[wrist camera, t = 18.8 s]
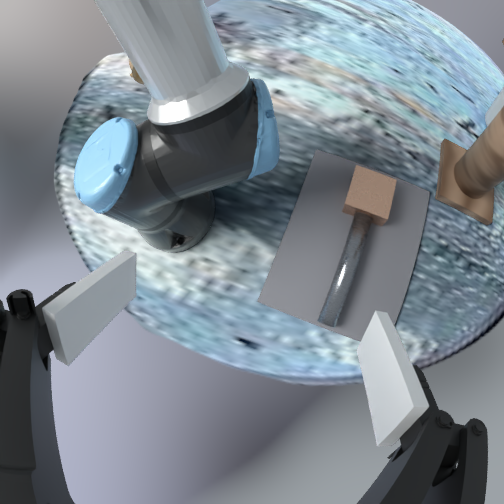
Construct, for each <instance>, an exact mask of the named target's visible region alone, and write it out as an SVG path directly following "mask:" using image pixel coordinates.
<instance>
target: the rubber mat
mask: <svg viewBox="0 0 504 504" xmlns="http://www.w3.org/2000/svg"><path fill="white" fill-rule="evenodd" d="M356 165H358V166H361V167H364V168H367V169H369V170H372V171H375V172H378V173H380V174H383V175H386V176H388V177H391V178H393V179H396V180H397V182H396V186H395V191H394V196H393V200H392V204H391V209H390V213H389V217H388V220H387V221H386V222H385V223H384V224H383V225H382V227H381V226H379V225H376V224H373V223H371V226H370V230H369V233H368V237H367V240H366V243H365V247H364V250H363V253H362V256H361V259H360V262H359V265H358V268H357V271H356V274H355V277H354V280H353V283H352V286H351V289H350V291H349V294H348V297H347V300H346V302H345V305H344V308H343V310H342V313H341V315H340V318H339V320H338V323H337V325H336V328H333V327H330V326H327V325H325V324H322V323H320V322H318V321H317V320H318V317H319V315H320V312H321V310H322V307H323V305H324V302H325V299H326V297H327V294H328V292H329V289H330V286H331V283H332V281H333V278H334V275H335V272H336V270H337V267H338V264H339V261H340V258H341V255H342V252H343V249H344V246H345V243H346V240H347V237H348V234H349V231H350V227H351V224H352V221H353V218H354V216H352V215H349V214H346V213H343V212H342V210H343V207H344V204H345V201H346V197H347V194H348V191H349V187H350V184H351V181H352V177H353V174H354V170H355V167H356ZM429 195H430V192H429V191H427V190H425V189H422V188H420V187H418V186H416V185H413V184H411V183H409V182H406V181H404V180H401V179H399V178H397V177H394V176H392V175H389V174H387V173H384V172H381V171H379V170H376V169H373V168H371V167H368V166H365V165H362V164H360V163H357V162H354V161H351V160H348V159H345V158H342V157H339V156H336V155H333V154H330V153H326V152H323V151H320V150H316V151H315V154H314V157H313V159H312V162H311V165H310V168H309V170H308V173H307V176H306V178H305V181H304V184H303V186H302V189H301V192H300V194H299V197H298V200H297V202H296V205H295V207H294V210H293V213H292V215H291V218H290V220H289V223H288V226H287V228H286V231H285V233H284V236H283V238H282V241H281V244H280V246H279V249H278V251H277V254H276V256H275V259H274V261H273V264H272V266H271V269H270V271H269V274H268V276H267V279H266V281H265V284H264V286H263V289H262V291H261V294H260V296H259V298H258V301H257V302H260V303H262V304H264V305H267V306H269V307H272V308H274V309H277V310H279V311H282V312H284V313H287V314H289V315H292V316H294V317H297V318H299V319H302V320H304V321H307V322H309V323H312V324H315V325H317V326H320V327H322V328H325V329H328V330H330V331H333V332H336V333H338V334H341V335H344V336H347V337H349V338H352V339H355V340H358V341H360V342H361V340H362V338H363V336H364V334H365V332H366V330H367V328H368V325H369V323H370V321H371V319H372V317H373V315H374V312H375V310H376V311H381V312H386V313H388V315H389V317H390V319H391V321H392V323H393V325H395V323H396V320H397V317H398V315H399V312H400V309H401V306H402V303H403V300H404V297H405V294H406V291H407V288H408V285H409V281H410V278H411V275H412V271H413V268H414V264H415V260H416V257H417V253H418V249H419V245H420V241H421V236H422V232H423V227H424V222H425V217H426V212H427V207H428V201H429Z"/></svg>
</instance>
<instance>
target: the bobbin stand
mask: <svg viewBox="0 0 504 504" xmlns="http://www.w3.org/2000/svg"><path fill="white" fill-rule="evenodd" d="M502 43H503V45H504V39H503V41H502ZM503 180H504V106H503V107H502V109H501V110H500V111H499V113H498V114H497V115H496V117H495V118H494V119H493V120H492V122H491V123H490V124H489V125H488V127H487V128H486V129H485V130H484V132H483V133H482V134H481V135H480V136H479V138H478V139H477V140H476V141H475V142H474V143H473V145H472V146H471V147H470V148H469V149H468V150H466V149H464V148H462V147H460V146H458V145H457V144H455V143H453V142H451V141H449V140H447V139H444V140H443V142H442V143H441V153H440V164H439V174H438V182H437V190H436V197H435V199H437V200H439V201H441V202H443V203H445V204H447V205H449V206H451V207H453V208H455V209H457V210H459V211H461V212H463V213H465V214H467V215H469V216H471V217H472V218H474V219H476V220H478V221H480V222H482V223H483V224H485V225H489V224H491V223H492V220H493V204H494V187H495V186H497V185H498V184H499V183H501V182H502V181H503Z"/></svg>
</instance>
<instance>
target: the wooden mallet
mask: <svg viewBox="0 0 504 504" xmlns="http://www.w3.org/2000/svg"><path fill="white" fill-rule="evenodd" d="M396 182H397V180H396V179H393V178H391V177H388V176H386V175H383V174H380V173H378V172H375V171H372V170H369V169H367V168H364V167H361V166H358V165H356V167H355V170H354V174H353V177H352V181H351V184H350V187H349V191H348V194H347V197H346V201H345V204H344V207H343V210H342V212H343V213H346V214H349V215H352V216H354V218H353V221H352V224H351V227H350V231H349V234H348V237H347V240H346V243H345V246H344V249H343V252H342V255H341V258H340V261H339V264H338V267H337V270H336V272H335V275H334V278H333V281H332V283H331V286H330V289H329V292H328V294H327V297H326V299H325V302H324V305H323V307H322V310H321V312H320V315H319V317H318V320H317V321H318V322H320V323H322V324H325V325H327V326H330V327H333V328H336V325H337V323H338V320H339V318H340V315H341V313H342V310H343V308H344V305H345V302H346V300H347V297H348V294H349V291H350V289H351V286H352V283H353V280H354V277H355V274H356V271H357V268H358V265H359V262H360V259H361V256H362V253H363V250H364V247H365V243H366V240H367V237H368V233H369V230H370V226H371V223H373V224H376V225H379V226H381V227H382V225H383V224H384V223H385V222H386V221H387V220H388V217H389V213H390V209H391V204H392V200H393V196H394V191H395V186H396Z"/></svg>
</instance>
